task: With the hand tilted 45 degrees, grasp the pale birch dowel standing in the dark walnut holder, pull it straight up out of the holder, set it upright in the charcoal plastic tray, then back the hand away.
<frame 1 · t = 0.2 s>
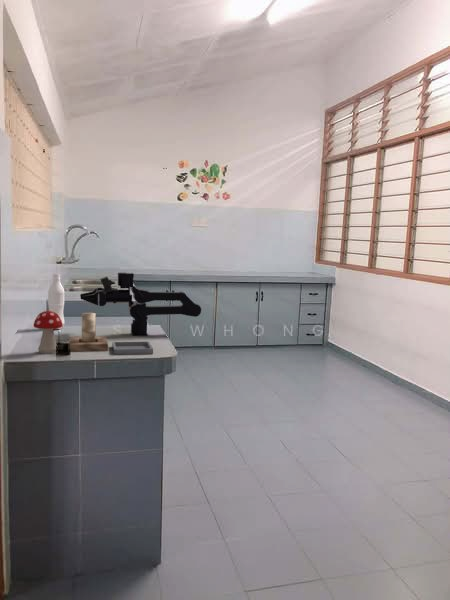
hand: (80, 296, 213), 17 cm above the table, tool horizontal, fingers open, 9 cm apart
water bottle: (56, 329, 227), on the table
holder: (88, 347, 191), on the table
dowel: (88, 330, 190), in the holder
decorative mushroom: (48, 352, 180), on the table
tray: (132, 350, 189), on the table
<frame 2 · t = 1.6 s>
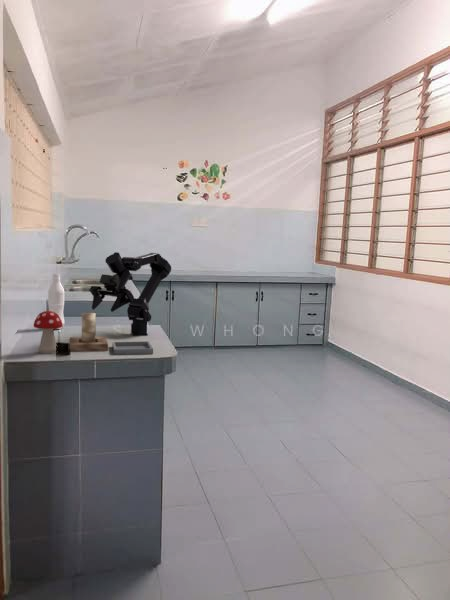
hand: (101, 310, 197), 13 cm above the table, tool tilted 45°, fingers open, 9 cm apart
nothing on the table moved.
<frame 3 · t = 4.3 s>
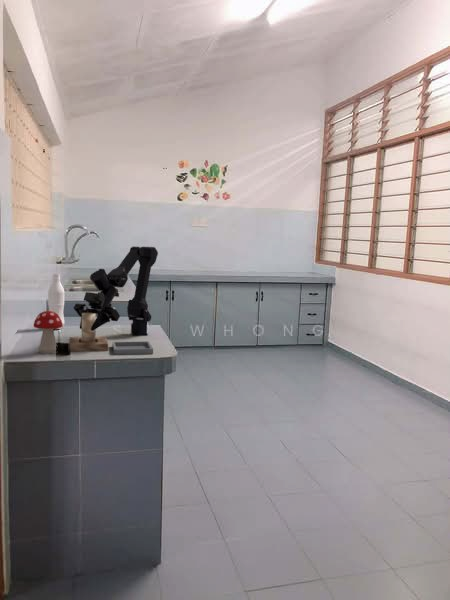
hand: (86, 329, 189), 7 cm above the table, tool tilted 45°, fingers closed on dowel, 5 cm apart
dowel: (88, 330, 190), in the holder, touching gripper
everything else where it was.
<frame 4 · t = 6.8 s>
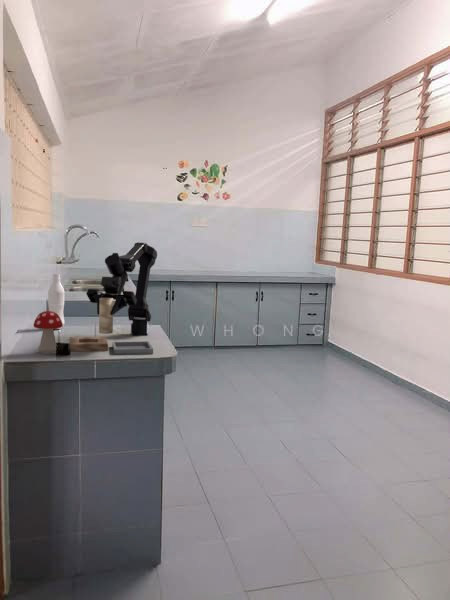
hand: (104, 314, 186), 13 cm above the table, tool tilted 45°, fingers closed on dowel, 5 cm apart
dowel: (106, 315, 187), point 13 cm above the table, touching gripper
everything else where it was.
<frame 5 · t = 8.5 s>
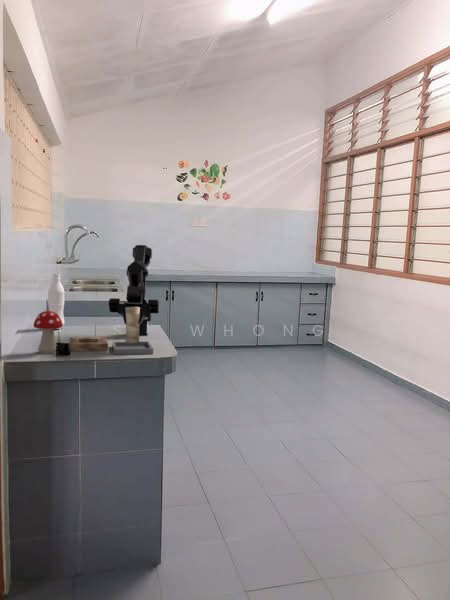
hand: (132, 323, 186), 10 cm above the table, tool tilted 45°, fingers closed on dowel, 5 cm apart
dowel: (132, 324, 188), point 10 cm above the table, touching gripper
everything else where it was.
when the fingers open (8 cm above the table, at t = 9.7 s): dowel stays where it is, resting on tray.
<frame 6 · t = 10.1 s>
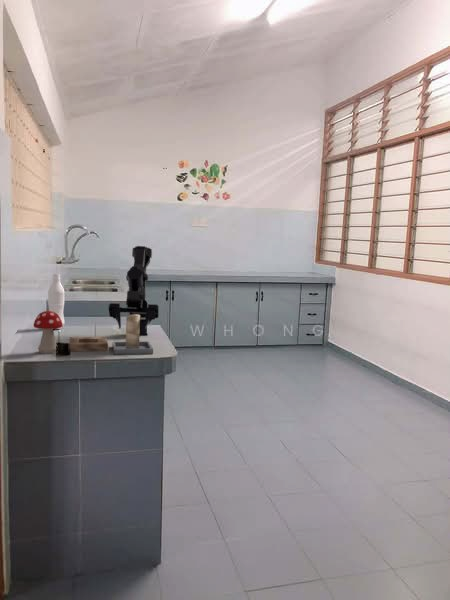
hand: (132, 328, 186), 9 cm above the table, tool tilted 45°, fingers open, 9 cm apart
dowel: (132, 332, 188), in the tray
everything else where it was.
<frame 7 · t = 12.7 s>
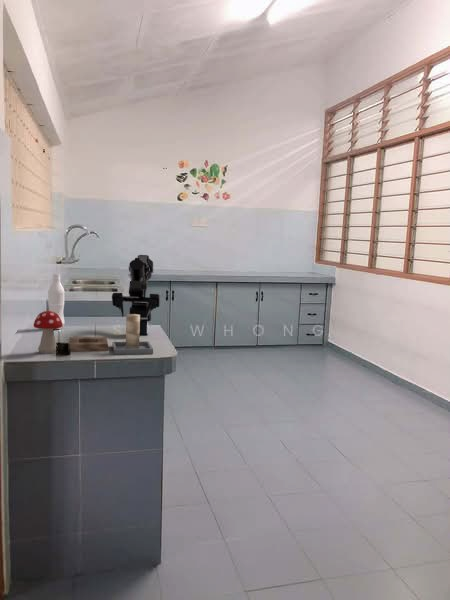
hand: (134, 316, 195), 12 cm above the table, tool tilted 45°, fingers open, 9 cm apart
nothing on the table moved.
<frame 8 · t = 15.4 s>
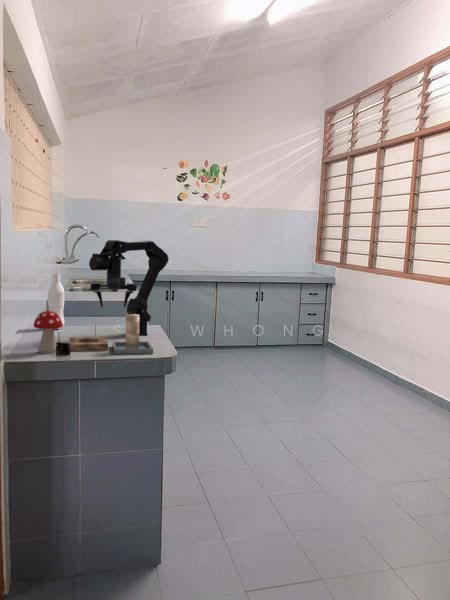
hand: (113, 307, 210), 13 cm above the table, tool pointing down, fingers open, 9 cm apart
nothing on the table moved.
at the end: dowel inside the target area on the tray (0.0 cm from its centre), point 6.9 cm above the tray's base; dowel tilted 1°; the gripper is holding nothing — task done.
